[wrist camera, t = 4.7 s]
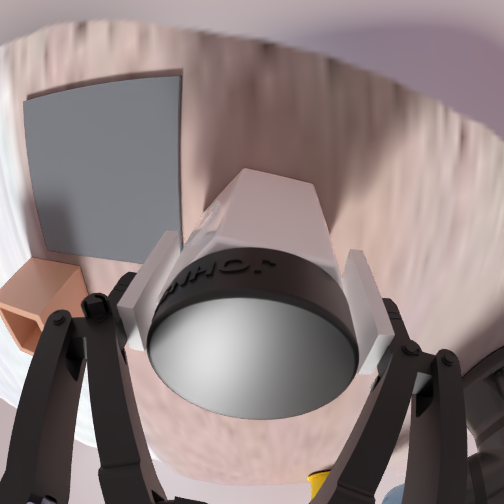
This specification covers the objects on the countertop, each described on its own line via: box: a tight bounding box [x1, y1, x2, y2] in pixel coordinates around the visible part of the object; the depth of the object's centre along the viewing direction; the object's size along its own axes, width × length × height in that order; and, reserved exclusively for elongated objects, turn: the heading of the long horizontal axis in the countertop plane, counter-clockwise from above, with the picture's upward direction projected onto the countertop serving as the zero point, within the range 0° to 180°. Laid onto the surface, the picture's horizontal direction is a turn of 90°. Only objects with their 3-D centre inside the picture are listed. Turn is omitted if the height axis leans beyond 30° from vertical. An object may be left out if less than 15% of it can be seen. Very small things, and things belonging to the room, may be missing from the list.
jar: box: [146, 168, 359, 420], centre depth 15 cm, size 9×8×12 cm
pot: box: [0, 257, 88, 356], centre depth 23 cm, size 7×7×7 cm
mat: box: [23, 76, 183, 264], centre depth 19 cm, size 14×14×1 cm
